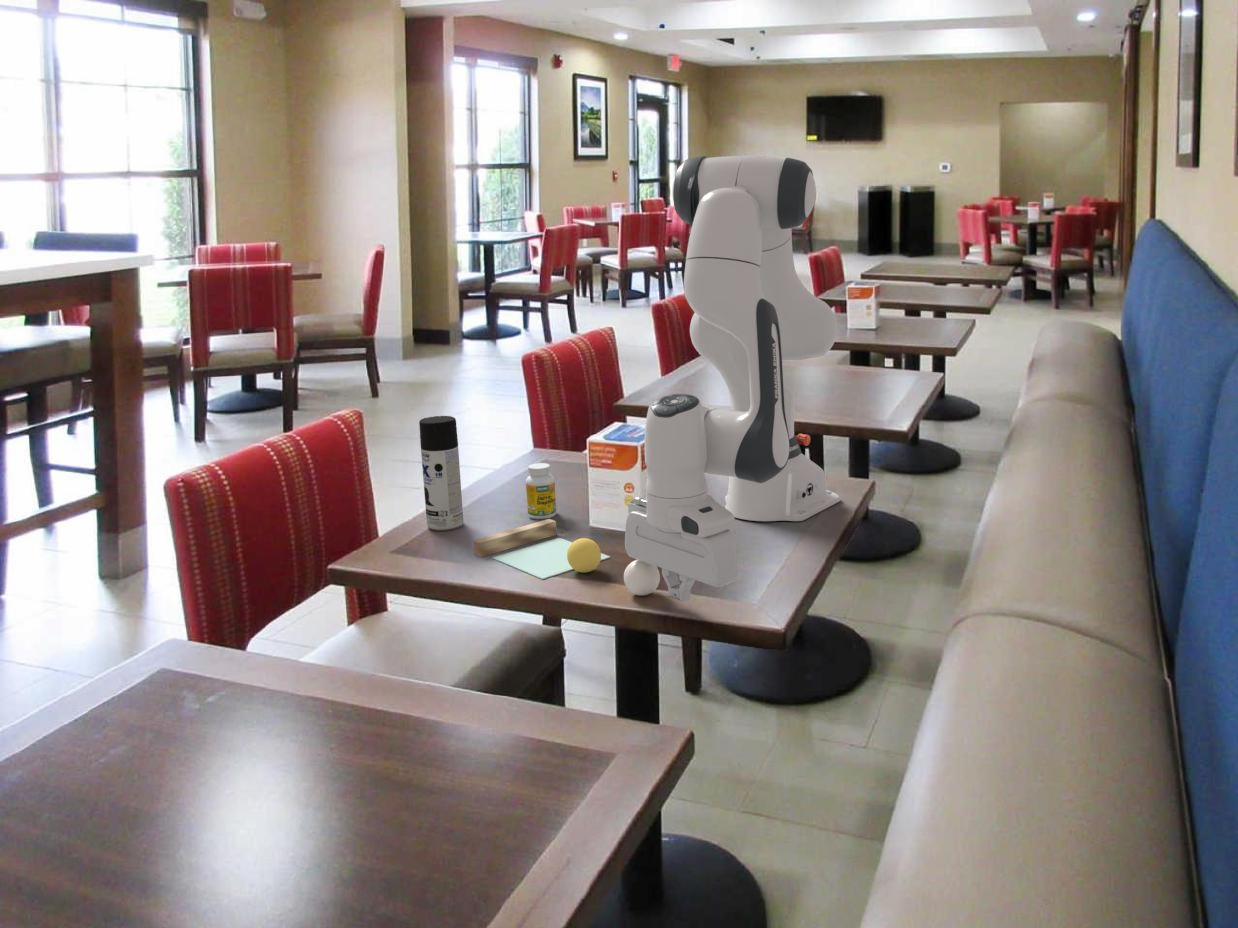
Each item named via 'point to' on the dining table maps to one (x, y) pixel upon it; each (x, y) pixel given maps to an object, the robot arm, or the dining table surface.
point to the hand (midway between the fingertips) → (679, 598)
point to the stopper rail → (514, 537)
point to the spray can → (441, 473)
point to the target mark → (541, 558)
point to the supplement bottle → (540, 492)
